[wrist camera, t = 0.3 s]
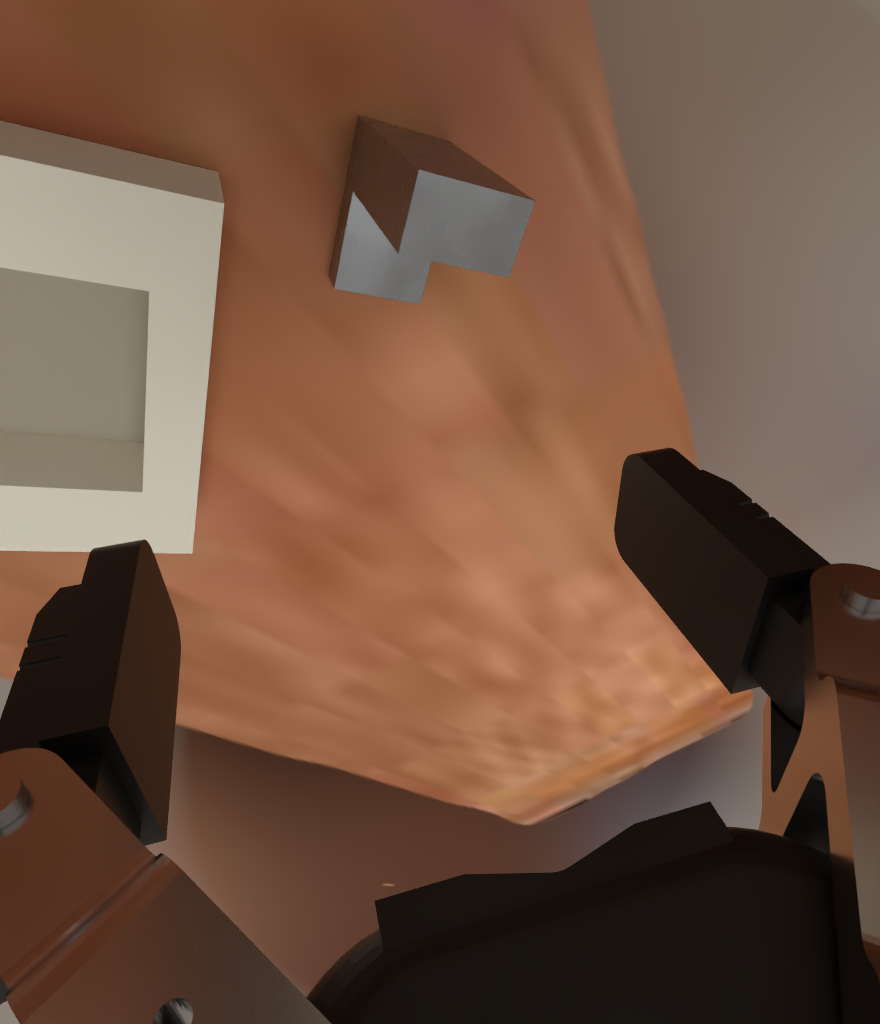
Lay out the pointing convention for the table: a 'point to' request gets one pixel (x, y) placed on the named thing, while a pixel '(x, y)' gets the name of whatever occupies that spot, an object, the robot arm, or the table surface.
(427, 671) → the table surface
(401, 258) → the grey rectangular block
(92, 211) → the well block
